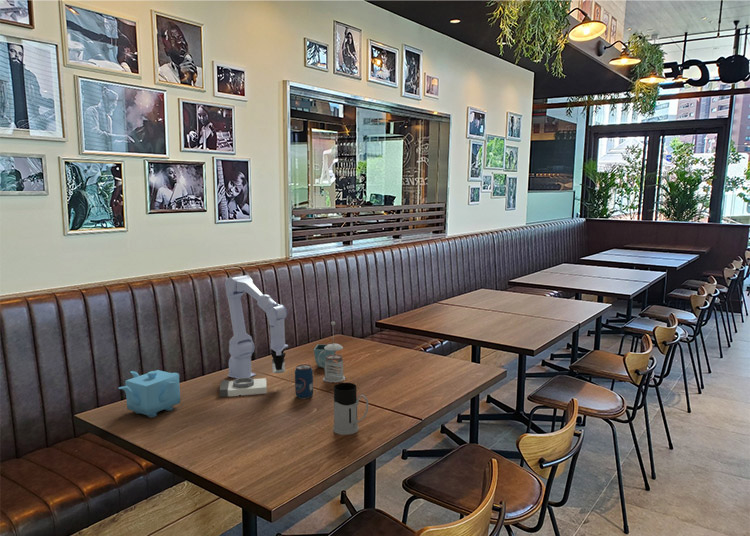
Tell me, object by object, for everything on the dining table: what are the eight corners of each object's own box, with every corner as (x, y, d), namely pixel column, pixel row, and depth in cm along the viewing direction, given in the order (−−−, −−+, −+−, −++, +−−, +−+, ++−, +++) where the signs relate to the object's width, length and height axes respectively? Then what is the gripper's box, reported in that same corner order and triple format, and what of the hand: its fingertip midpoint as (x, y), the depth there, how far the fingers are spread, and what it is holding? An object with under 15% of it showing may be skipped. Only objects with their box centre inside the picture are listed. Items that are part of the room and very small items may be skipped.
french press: (344, 382, 228) (343, 324, 224) (317, 382, 228) (315, 324, 225) (346, 374, 238) (345, 318, 234) (320, 374, 238) (318, 319, 234)
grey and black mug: (345, 421, 189) (344, 380, 187) (376, 432, 180) (376, 389, 178) (327, 429, 183) (326, 387, 180) (359, 441, 174) (358, 397, 172)
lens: (270, 371, 221) (269, 359, 220) (278, 368, 225) (278, 356, 224) (279, 374, 218) (278, 361, 218) (287, 370, 222) (287, 358, 222)
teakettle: (182, 399, 211) (180, 362, 209) (178, 418, 193) (175, 378, 191) (130, 404, 206) (127, 366, 204) (120, 424, 188) (117, 383, 186)
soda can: (291, 397, 212) (291, 367, 210) (302, 391, 218) (301, 362, 216) (306, 400, 208) (305, 370, 207) (316, 394, 214) (316, 365, 213)
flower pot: (336, 363, 254) (336, 344, 252) (333, 369, 245) (332, 350, 244) (317, 362, 255) (317, 344, 253) (313, 368, 246) (313, 349, 245)
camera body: (220, 397, 212) (219, 387, 212) (221, 387, 223) (221, 378, 223) (266, 393, 216) (266, 383, 216) (266, 383, 227) (265, 374, 226)
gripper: (288, 339, 213) (289, 372, 215) (286, 330, 227) (287, 361, 229) (270, 340, 212) (271, 373, 214) (269, 331, 226) (270, 362, 228)
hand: (278, 367), depth 221 cm, fingers closed on lens, 5 cm apart
